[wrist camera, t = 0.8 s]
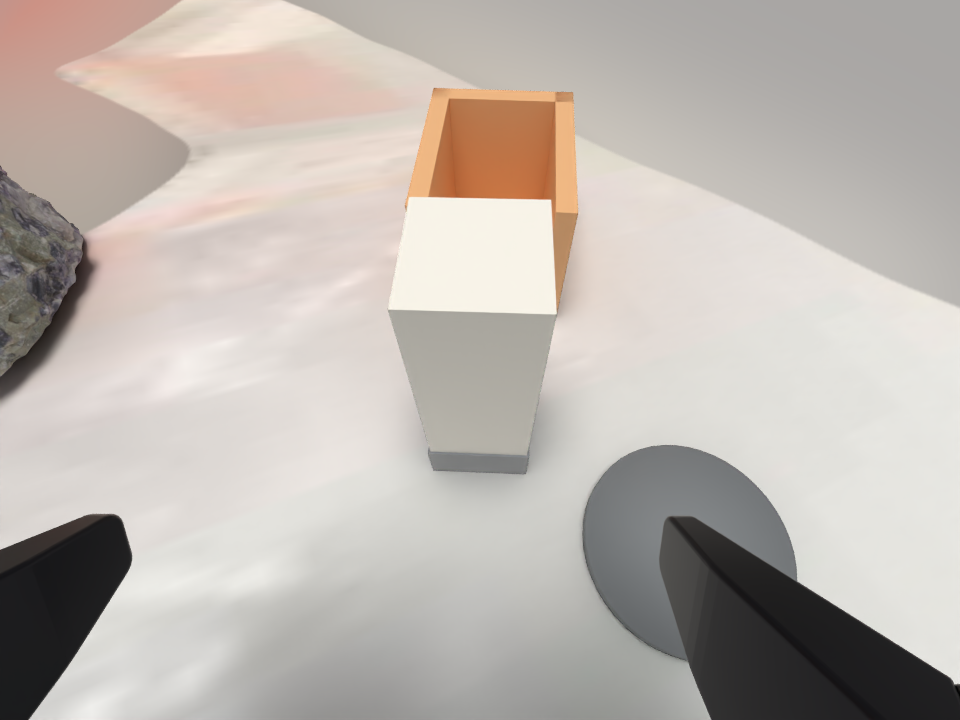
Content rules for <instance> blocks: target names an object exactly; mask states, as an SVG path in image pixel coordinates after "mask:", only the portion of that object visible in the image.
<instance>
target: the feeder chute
mask: <svg viewBox="0 0 960 720" xmlns="http://www.w3.org/2000/svg"><path fill="white" fill-rule="evenodd" d="M573 104H574V102H573V92H544V91H542V92H541V91H509V90H478V89H445V88H434V89H433V93H432V97H431V101H430V105H429V109H428V113H427V118H426V122H425V126H424V130H423V134H422V138H421V142H420V146H419V150H418V154H417V158H416V162H415V166H414V171H413V175H412V179H411V183H410V187H409V191H408V195H407V199H406V203H405V208H406V211H407V205H408V200H409V197H439V198H489V199H538V200H551V207H552V227H553V248H554V268H555V289H556V309H557V310H558V306H559V301H560V296H561V291H562V287H563V282H564V277H565V273H566V268H567V263H568V258H569V254H570V249H571V244H572V239H573V235H574V230H575V225H576V220H577V216H578V201H577V176H576V151H575V127H574V105H573Z"/></svg>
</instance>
